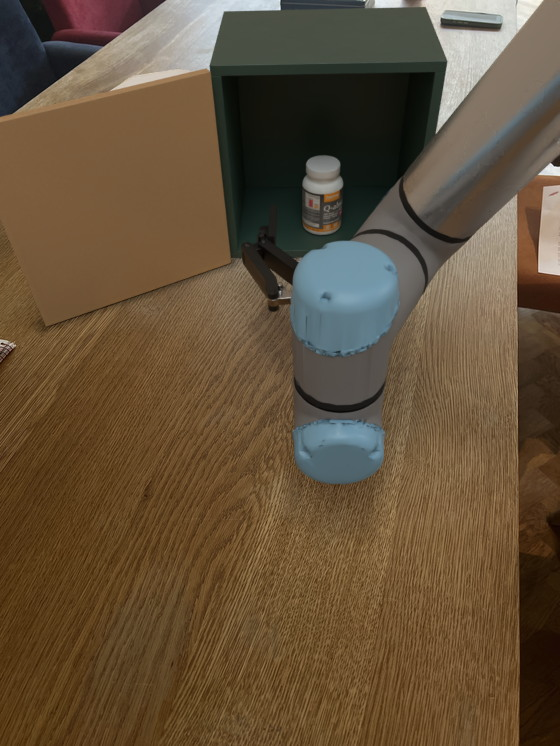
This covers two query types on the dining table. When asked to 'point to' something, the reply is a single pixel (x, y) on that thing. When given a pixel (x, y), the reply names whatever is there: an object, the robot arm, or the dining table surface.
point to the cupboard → (320, 111)
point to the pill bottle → (322, 195)
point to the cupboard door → (114, 193)
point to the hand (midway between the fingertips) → (329, 213)
